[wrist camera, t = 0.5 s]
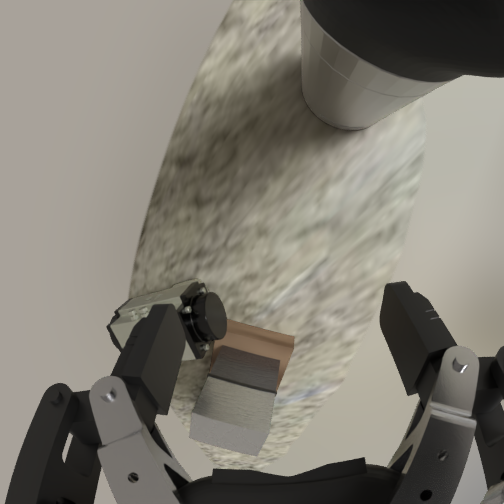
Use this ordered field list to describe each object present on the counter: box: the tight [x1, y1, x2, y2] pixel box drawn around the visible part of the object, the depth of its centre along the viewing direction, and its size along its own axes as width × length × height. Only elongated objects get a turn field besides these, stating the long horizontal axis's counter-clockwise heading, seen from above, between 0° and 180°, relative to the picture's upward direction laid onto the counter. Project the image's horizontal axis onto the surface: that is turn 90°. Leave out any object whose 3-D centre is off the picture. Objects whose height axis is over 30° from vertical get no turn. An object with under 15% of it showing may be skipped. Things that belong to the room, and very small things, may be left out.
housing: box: [189, 345, 280, 456], centre depth 27 cm, size 5×7×11 cm
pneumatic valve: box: [107, 278, 227, 361], centre depth 27 cm, size 6×12×12 cm, turn 109°
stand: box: [209, 319, 294, 391], centre depth 33 cm, size 9×9×2 cm
